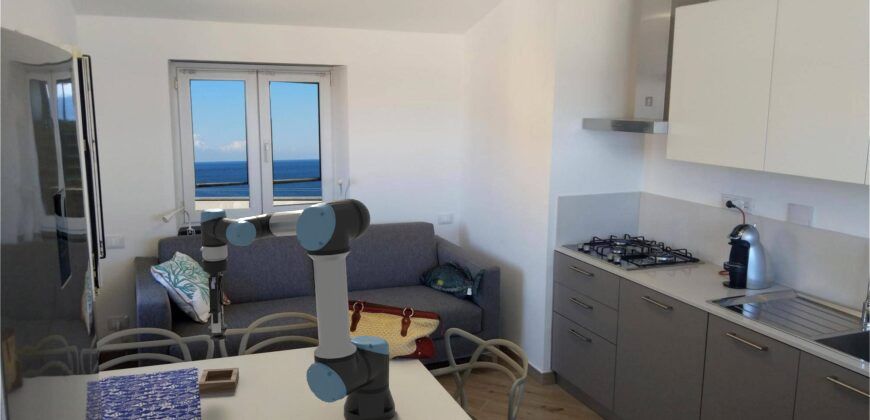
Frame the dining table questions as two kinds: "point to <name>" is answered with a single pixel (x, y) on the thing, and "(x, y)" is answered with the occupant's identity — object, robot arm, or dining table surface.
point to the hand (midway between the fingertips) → (217, 328)
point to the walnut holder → (219, 380)
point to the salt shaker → (223, 329)
